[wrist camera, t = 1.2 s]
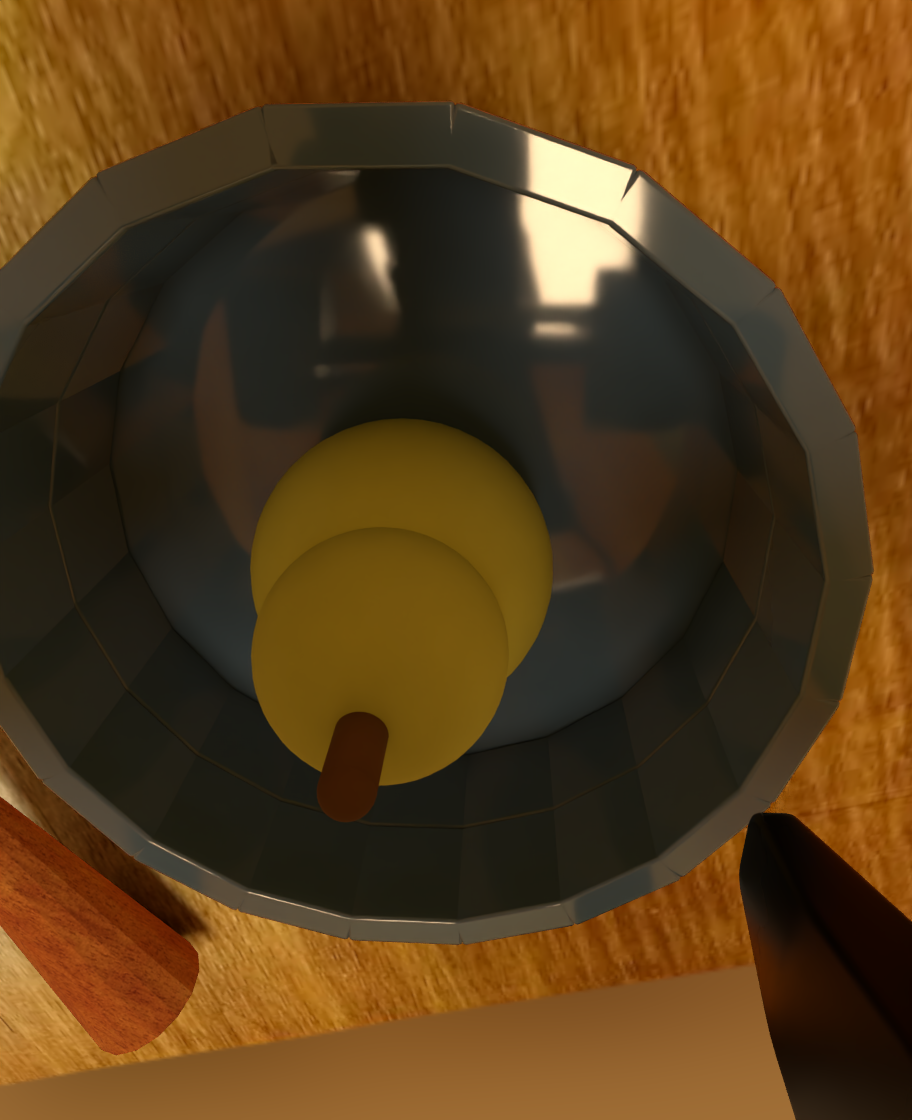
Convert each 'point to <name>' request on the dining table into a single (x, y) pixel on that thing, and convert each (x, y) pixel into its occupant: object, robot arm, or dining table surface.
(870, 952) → the robot arm
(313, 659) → the pear toy
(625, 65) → the dining table surface
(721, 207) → the dining table surface
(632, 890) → the bowl
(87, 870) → the kendama
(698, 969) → the dining table surface
